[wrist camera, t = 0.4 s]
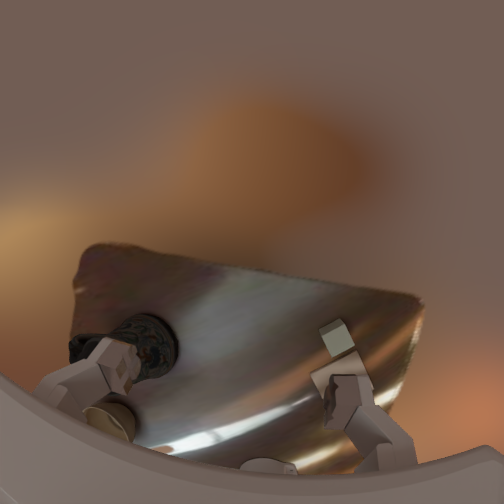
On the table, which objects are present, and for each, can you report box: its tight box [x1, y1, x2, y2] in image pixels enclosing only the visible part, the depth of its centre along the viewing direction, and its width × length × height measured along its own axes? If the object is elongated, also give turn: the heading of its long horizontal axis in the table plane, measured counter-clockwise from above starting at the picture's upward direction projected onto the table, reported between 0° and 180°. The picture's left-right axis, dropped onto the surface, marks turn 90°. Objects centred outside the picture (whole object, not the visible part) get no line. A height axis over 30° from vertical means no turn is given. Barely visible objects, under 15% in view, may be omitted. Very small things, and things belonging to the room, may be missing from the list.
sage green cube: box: [318, 318, 355, 357], centre depth 56 cm, size 5×5×6 cm
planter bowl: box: [83, 403, 135, 443], centre depth 60 cm, size 16×16×11 cm
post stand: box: [310, 349, 374, 398], centre depth 55 cm, size 12×12×7 cm
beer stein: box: [69, 314, 178, 396], centre depth 52 cm, size 16×19×25 cm
